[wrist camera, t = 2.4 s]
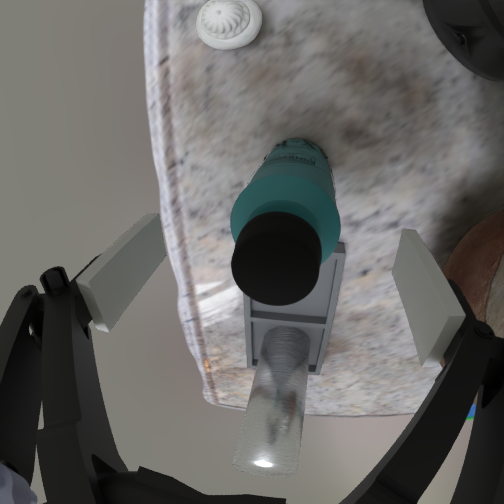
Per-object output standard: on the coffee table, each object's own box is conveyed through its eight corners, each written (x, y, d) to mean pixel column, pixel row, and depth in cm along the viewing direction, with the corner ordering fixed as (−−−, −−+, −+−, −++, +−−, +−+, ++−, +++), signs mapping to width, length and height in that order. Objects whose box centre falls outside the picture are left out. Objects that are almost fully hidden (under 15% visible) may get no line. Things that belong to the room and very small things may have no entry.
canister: (312, 328, 39) (300, 465, 22) (307, 358, 42) (293, 480, 25) (263, 323, 40) (229, 456, 23) (262, 354, 43) (234, 472, 27)
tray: (343, 243, 32) (345, 253, 30) (319, 363, 44) (319, 375, 42) (245, 235, 34) (241, 245, 32) (250, 356, 46) (247, 367, 44)
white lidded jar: (280, 30, 22) (271, 11, 16) (234, 66, 25) (213, 58, 19) (240, -6, 20) (221, -30, 14) (197, 30, 23) (167, 16, 17)
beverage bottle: (336, 184, 29) (365, 316, 12) (278, 200, 31) (235, 338, 15) (318, 126, 26) (333, 181, 10) (257, 145, 29) (175, 229, 12)
